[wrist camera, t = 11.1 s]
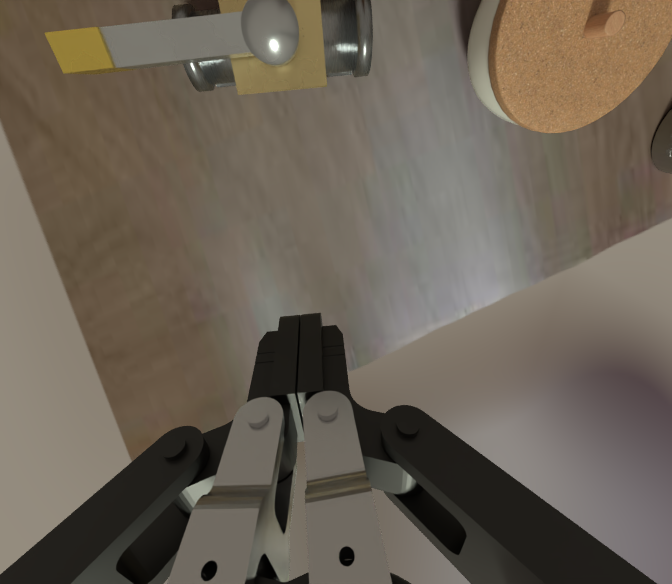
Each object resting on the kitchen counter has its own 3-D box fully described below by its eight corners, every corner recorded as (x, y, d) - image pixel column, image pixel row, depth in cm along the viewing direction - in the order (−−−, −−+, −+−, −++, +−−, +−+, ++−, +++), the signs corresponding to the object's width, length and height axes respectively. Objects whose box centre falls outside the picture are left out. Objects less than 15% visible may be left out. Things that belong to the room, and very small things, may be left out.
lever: (294, 0, 20) (293, -13, 17) (302, 63, 21) (303, 60, 19) (73, 25, 19) (36, 15, 17) (100, 87, 21) (70, 87, 18)
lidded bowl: (559, -111, 23) (724, -232, 14) (602, 51, 29) (738, 38, 20) (418, 31, 27) (477, 5, 18) (481, 149, 33) (550, 174, 24)
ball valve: (358, -7, 26) (376, -36, 19) (360, 81, 29) (376, 81, 23) (188, 7, 25) (151, -17, 19) (211, 95, 28) (186, 99, 22)
